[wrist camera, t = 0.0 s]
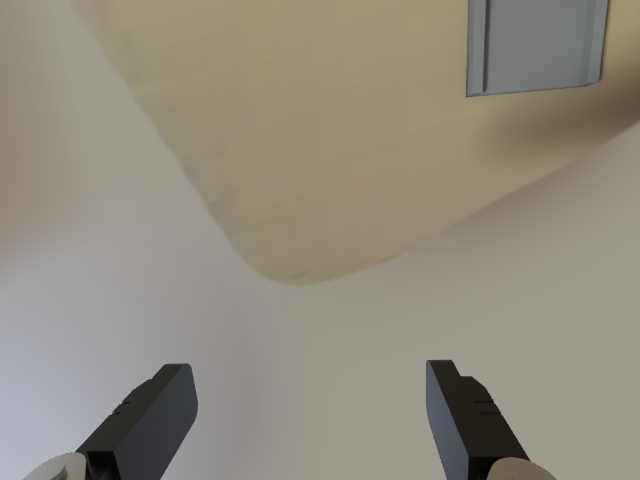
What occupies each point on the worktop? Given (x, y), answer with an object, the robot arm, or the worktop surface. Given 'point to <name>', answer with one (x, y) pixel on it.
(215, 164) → the worktop surface
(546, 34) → the tray
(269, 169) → the worktop surface
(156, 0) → the worktop surface
